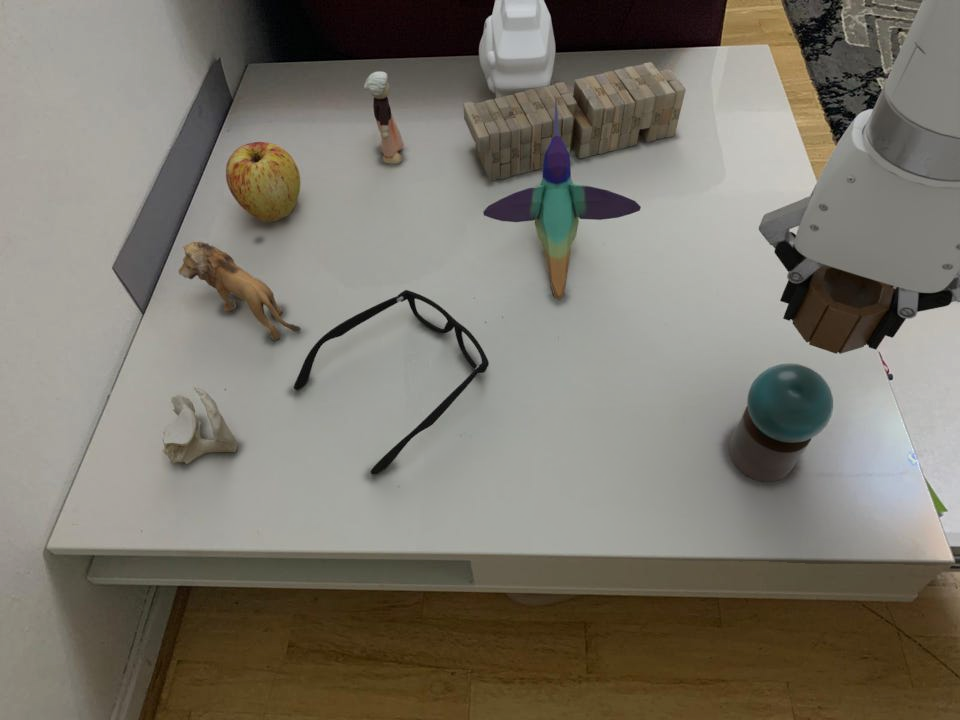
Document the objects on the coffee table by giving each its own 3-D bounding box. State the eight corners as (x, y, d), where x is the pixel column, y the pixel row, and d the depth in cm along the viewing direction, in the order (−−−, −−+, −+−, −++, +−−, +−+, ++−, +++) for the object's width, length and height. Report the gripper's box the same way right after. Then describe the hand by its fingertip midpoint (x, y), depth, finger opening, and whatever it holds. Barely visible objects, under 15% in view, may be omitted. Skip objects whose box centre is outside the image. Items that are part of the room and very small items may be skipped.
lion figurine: (193, 307, 89) (163, 256, 82) (220, 278, 92) (194, 226, 84) (289, 348, 84) (266, 298, 77) (315, 316, 87) (296, 265, 80)
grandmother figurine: (412, 164, 103) (399, 84, 92) (386, 171, 102) (370, 92, 92) (395, 133, 107) (381, 53, 97) (370, 140, 106) (354, 61, 96)
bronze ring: (875, 310, 57) (899, 272, 54) (860, 362, 55) (885, 325, 51) (803, 287, 59) (821, 248, 55) (785, 336, 56) (803, 299, 53)
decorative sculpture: (615, 193, 97) (628, 95, 85) (631, 298, 86) (648, 203, 74) (488, 197, 98) (483, 100, 86) (487, 302, 87) (481, 208, 75)
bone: (135, 442, 76) (145, 367, 71) (188, 422, 81) (202, 351, 76) (185, 492, 73) (199, 418, 68) (237, 468, 78) (254, 397, 73)
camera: (550, 62, 115) (553, -42, 102) (557, 133, 105) (561, 28, 92) (481, 65, 116) (476, -38, 103) (481, 136, 105) (474, 32, 92)
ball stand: (806, 439, 74) (853, 365, 64) (788, 497, 71) (835, 429, 60) (736, 412, 76) (770, 336, 66) (715, 467, 73) (748, 397, 62)
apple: (286, 179, 102) (265, 118, 94) (321, 210, 98) (303, 150, 90) (230, 210, 99) (203, 150, 91) (264, 244, 95) (239, 184, 87)
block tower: (651, 111, 108) (464, 150, 104) (661, 58, 101) (461, 98, 97) (674, 142, 104) (480, 185, 99) (687, 89, 97) (478, 132, 92)
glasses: (505, 387, 81) (506, 360, 77) (378, 483, 74) (372, 458, 70) (413, 305, 88) (409, 277, 84) (290, 385, 81) (279, 358, 77)
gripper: (1114, 126, 41) (958, 324, 56) (805, 58, 46) (737, 255, 61) (1109, 210, 37) (943, 398, 52) (774, 125, 43) (709, 317, 57)
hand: (833, 319), depth 56 cm, fingers closed on bronze ring, 5 cm apart
